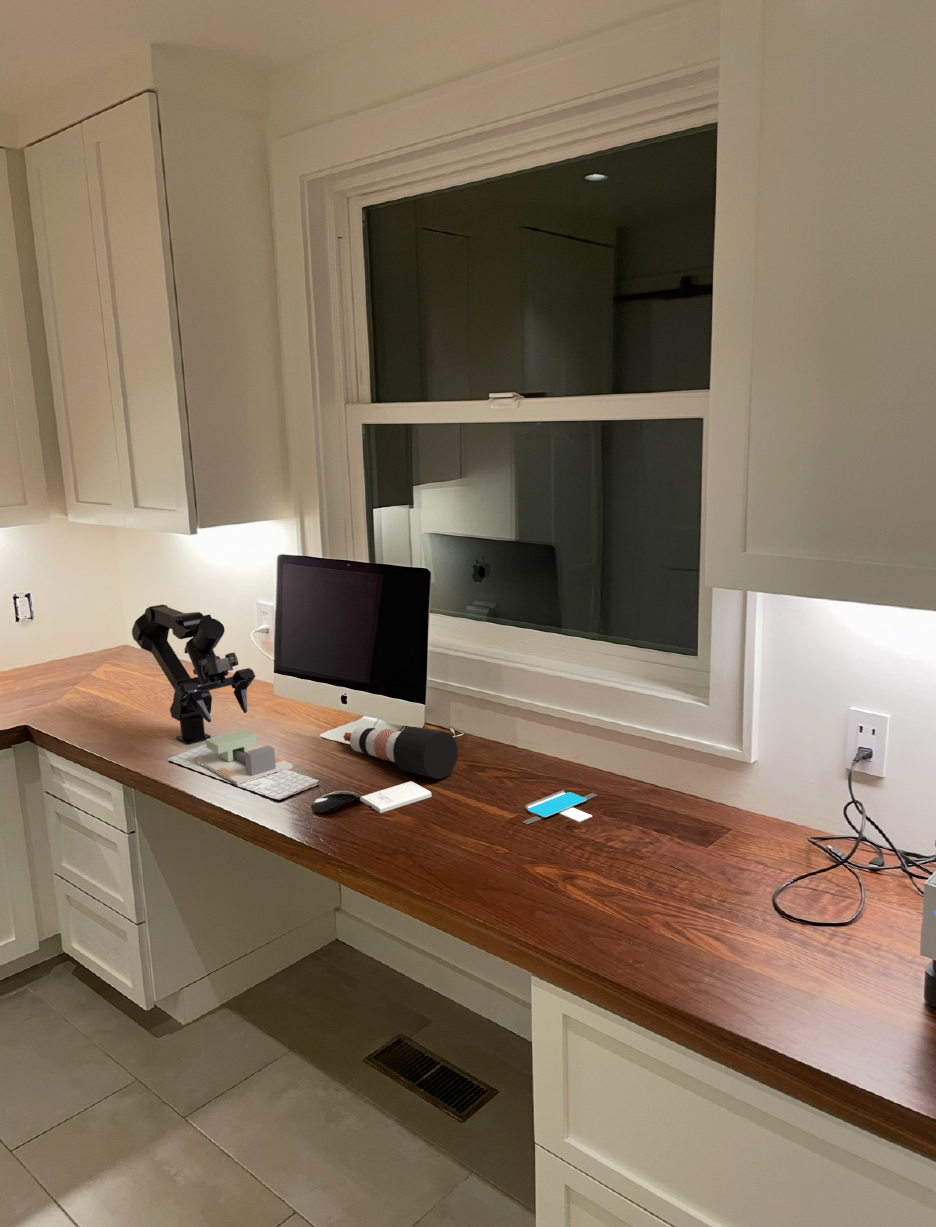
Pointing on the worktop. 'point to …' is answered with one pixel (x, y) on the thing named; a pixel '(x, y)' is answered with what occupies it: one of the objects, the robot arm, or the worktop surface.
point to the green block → (231, 743)
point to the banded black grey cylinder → (409, 748)
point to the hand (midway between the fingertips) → (228, 716)
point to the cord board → (237, 767)
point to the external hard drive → (396, 796)
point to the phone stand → (558, 806)
